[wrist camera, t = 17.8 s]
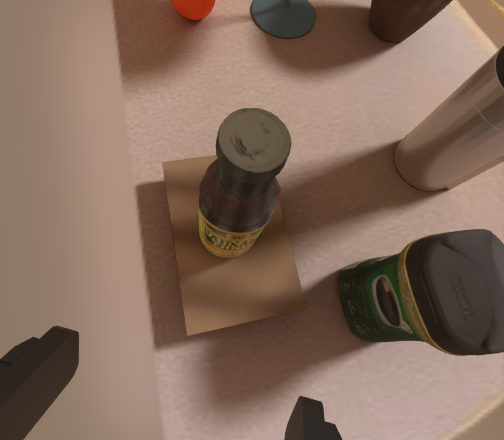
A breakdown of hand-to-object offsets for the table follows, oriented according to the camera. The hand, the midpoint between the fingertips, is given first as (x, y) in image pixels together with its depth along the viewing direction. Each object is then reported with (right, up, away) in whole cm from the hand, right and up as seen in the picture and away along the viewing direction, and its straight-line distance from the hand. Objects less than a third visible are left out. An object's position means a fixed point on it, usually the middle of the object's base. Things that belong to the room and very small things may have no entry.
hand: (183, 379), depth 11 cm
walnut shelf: (0, +3, +28) cm, 28 cm away
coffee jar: (+17, -4, +28) cm, 33 cm away
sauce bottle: (0, +4, +24) cm, 25 cm away
